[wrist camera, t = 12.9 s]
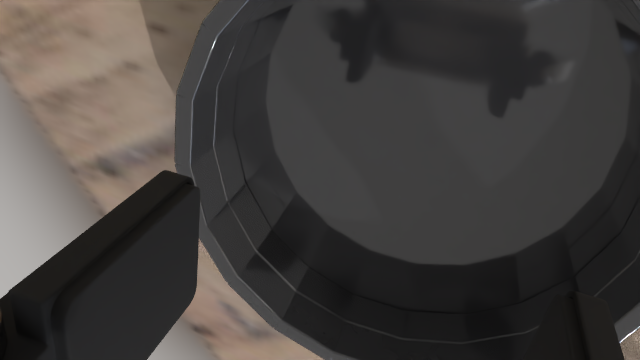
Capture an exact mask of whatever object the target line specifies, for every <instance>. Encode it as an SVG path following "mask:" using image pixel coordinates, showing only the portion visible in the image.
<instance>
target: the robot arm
mask: <svg viewBox="0 0 640 360" xmlns="http://www.w3.org/2000/svg"><path fill="white" fill-rule="evenodd" d="M199 218H200V189H199V188H198V187H196V186H194V181H193V179H192V178H191V177H188V176H184V175H181V174H177V173H174V172H171V171H166V170H164V171H162V172H161V173H159V174H158V175H157V176H155V177H154V178H153V179H152V180H150V181H149V182H148V183H146V184H145V185H144V186H143V187H141V188H140V189H139V190H137V191H136V192H135V193H134V194H132V195H131V196H130V197H128V198H127V199H126V200H125V201H123V202H122V203H121V204H120V205H118V206H117V207H116V208H114V209H113V210H112V211H111V212H109V213H108V214H107V215H105V216H104V217H103V218H102V219H100V220H99V221H98V222H96V223H95V224H94V225H93V226H91V227H90V228H89V229H88V230H86V231H85V232H84V233H82V234H81V235H80V236H79V237H77V238H76V239H75V240H73V241H72V242H71V243H70V244H68V245H67V246H66V247H64V248H63V249H62V250H61V251H59V252H58V253H57V254H55V255H54V256H53V257H52V258H50V259H49V260H48V261H46V262H45V263H44V264H43V265H41V266H40V267H39V268H37V269H36V270H35V271H34V272H33V273H31V274H30V275H29V276H27V277H26V278H25V279H23V280H22V281H21V282H20V283H18V284H17V285H16V286H14V287H13V288H12V289H11V290H9V292H8V293H7V294H6V295H5V296H3V297H2V298H1V299H0V360H147V359H148V357H149V356H150V355H151V353H152V352H153V351H154V350H155V348H156V347H157V346H158V344H159V343H160V342H161V340H162V339H163V338H164V337H165V335H166V334H167V333H168V331H169V330H170V329H171V328H172V326H173V325H174V324H175V323H176V321H177V320H178V319H179V317H180V316H181V315H182V314H183V312H184V311H185V310H186V308H187V307H188V306H189V304H190V303H191V301H192V300H193V298H194V295H195V292H196V287H197V265H198V242H199ZM523 360H624V357H623V353H622V350H621V346H620V343H619V340H618V336H617V333H616V330H615V326H614V323H613V319H612V316H611V313H610V309H609V306H608V304H607V302H606V301H605V300H603V299H600V298H596V297H593V296H590V295H586V294H583V293H579V292H576V291H573V290H572V291H569V292H568V293H567V294H566V296H561V295H556V296H555V297H554V299H553V300H552V302H551V304H550V306H549V308H548V310H547V312H546V314H545V316H544V318H543V320H542V322H541V324H540V326H539V328H538V330H537V332H536V334H535V336H534V338H533V340H532V342H531V344H530V346H529V348H528V350H527V352H526V354H525V356H524V358H523Z"/></svg>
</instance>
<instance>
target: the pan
mask: <svg viewBox="0 0 640 360" xmlns="http://www.w3.org/2000/svg"><path fill="white" fill-rule="evenodd" d="M175 163H176V164H175V167H176V170H177V174H181V175H184V176H188V177H191V178H192V179H193V181H194V186H196V187H198V188H199V189H200V218H199V238H200V240H201V242H202V243H203V245H204V247H205V248H206V250H207V252H208V253H209V255H210V256H211V258H212V260H213V261H214V263H215V265H216V266H217V268H218V269H219V271H220V273H221V274H222V276H223V278H224V279H225V281H226V282H228V285H229V286H230V287H231V288H232V289H233V290H234V291H236V292H237V293H238V294H239V295H240V296H241V297H242V298H243V299H244V300H245V301H246V302H247V303H248V304H249V305H250V306H251V307H252V308H253V309H254V310H255V311H256V312H257V313H258V314H259V315H260V316H261V317H262V318H263V319H264V320H265V321H266V322H267V323H268V324H269V325H270V326H271V327H273V328H274V329H275V330H277V331H278V332H280V333H282V334H283V335H285V336H287V337H288V338H290V339H292V340H293V341H295V342H297V343H298V344H300V345H301V346H303V347H305V348H306V349H308V350H310V351H311V352H313V353H315V354H316V355H318V356H320V357H321V358H323V359H325V360H523V358H524V356H525V354H526V352H527V350H528V348H529V346H530V344H531V342H532V340H533V338H534V336H535V334H536V332H537V330H538V328H539V326H540V324H541V322H542V320H543V318H544V316H545V314H546V312H547V310H548V308H549V306H550V304H551V302H552V300H553V299H554V297H555V296H556V295H561V296H566V294H567V293H568V292H569V291H572V290H573V291H576V292H579V293H583V294H586V295H590V296H593V297H596V298H600V299H603V300H605V301H606V302H607V304H608V306H609V309H610V313H611V316H612V319H613V323H614V326H615V330H616V333H617V336H618V340H619V343H621V342H622V341H623V340H625V339H626V338H627V337H629V336H630V335H631V334H632V333H634V332H635V331H636V330H637V329H639V328H640V0H220V1H219V2H218V3H217V4H216V5H215V7H214V8H213V9H212V10H211V11H210V13H209V14H208V15H207V16H206V18H205V19H204V20H203V22H202V24H201V26H200V29H199V32H198V34H197V37H196V40H195V43H194V45H193V48H192V51H191V54H190V56H189V59H188V62H187V65H186V68H185V70H184V73H183V76H182V79H181V81H180V84H179V87H178V90H177V95H176V121H175Z"/></svg>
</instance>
